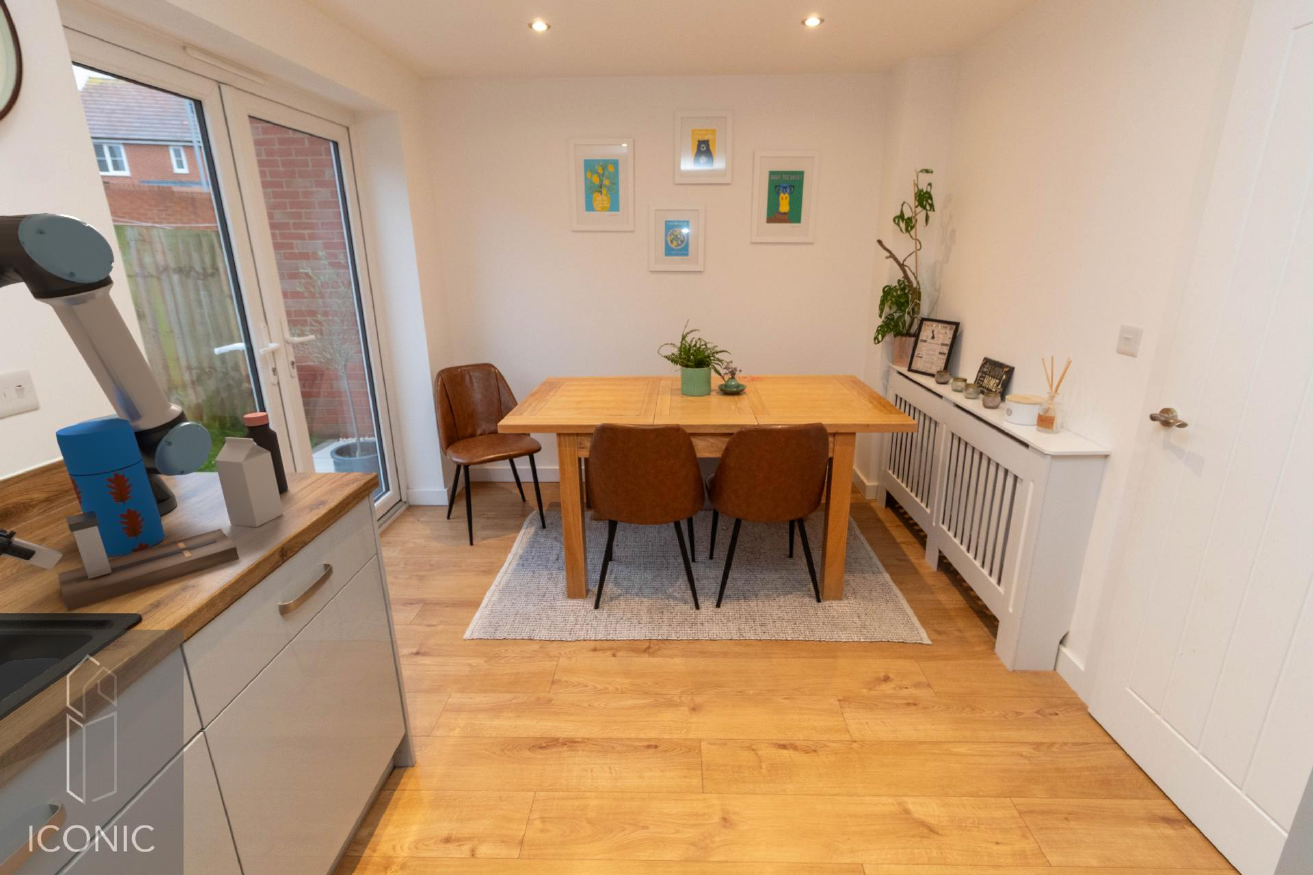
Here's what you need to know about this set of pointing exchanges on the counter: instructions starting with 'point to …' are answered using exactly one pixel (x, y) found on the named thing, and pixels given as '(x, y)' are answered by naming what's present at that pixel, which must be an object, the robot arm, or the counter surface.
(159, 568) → the console
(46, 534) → the counter surface
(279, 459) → the bottle
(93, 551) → the fader handle
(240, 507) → the milk carton
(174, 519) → the counter surface
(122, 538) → the thermos
